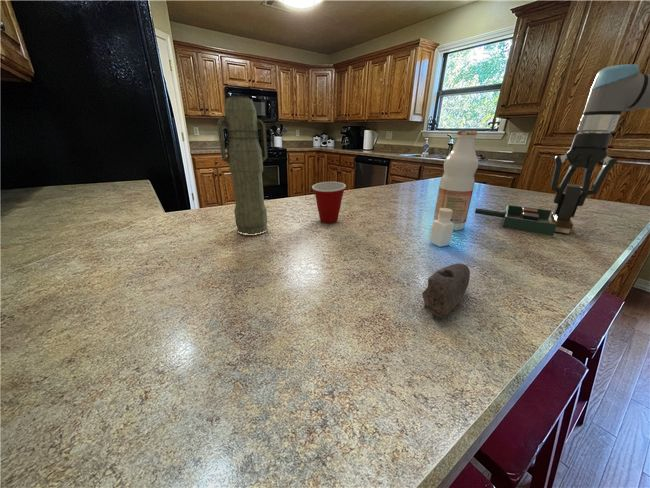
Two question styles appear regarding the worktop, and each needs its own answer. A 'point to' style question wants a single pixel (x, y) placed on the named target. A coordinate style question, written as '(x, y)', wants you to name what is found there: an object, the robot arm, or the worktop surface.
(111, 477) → the worktop surface
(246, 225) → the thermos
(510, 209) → the dustpan
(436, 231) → the pepper shaker
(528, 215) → the crumb block
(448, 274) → the perforated stone tool
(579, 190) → the brush
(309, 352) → the worktop surface
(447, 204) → the fruit juice
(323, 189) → the plastic cup
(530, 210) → the crumb block
